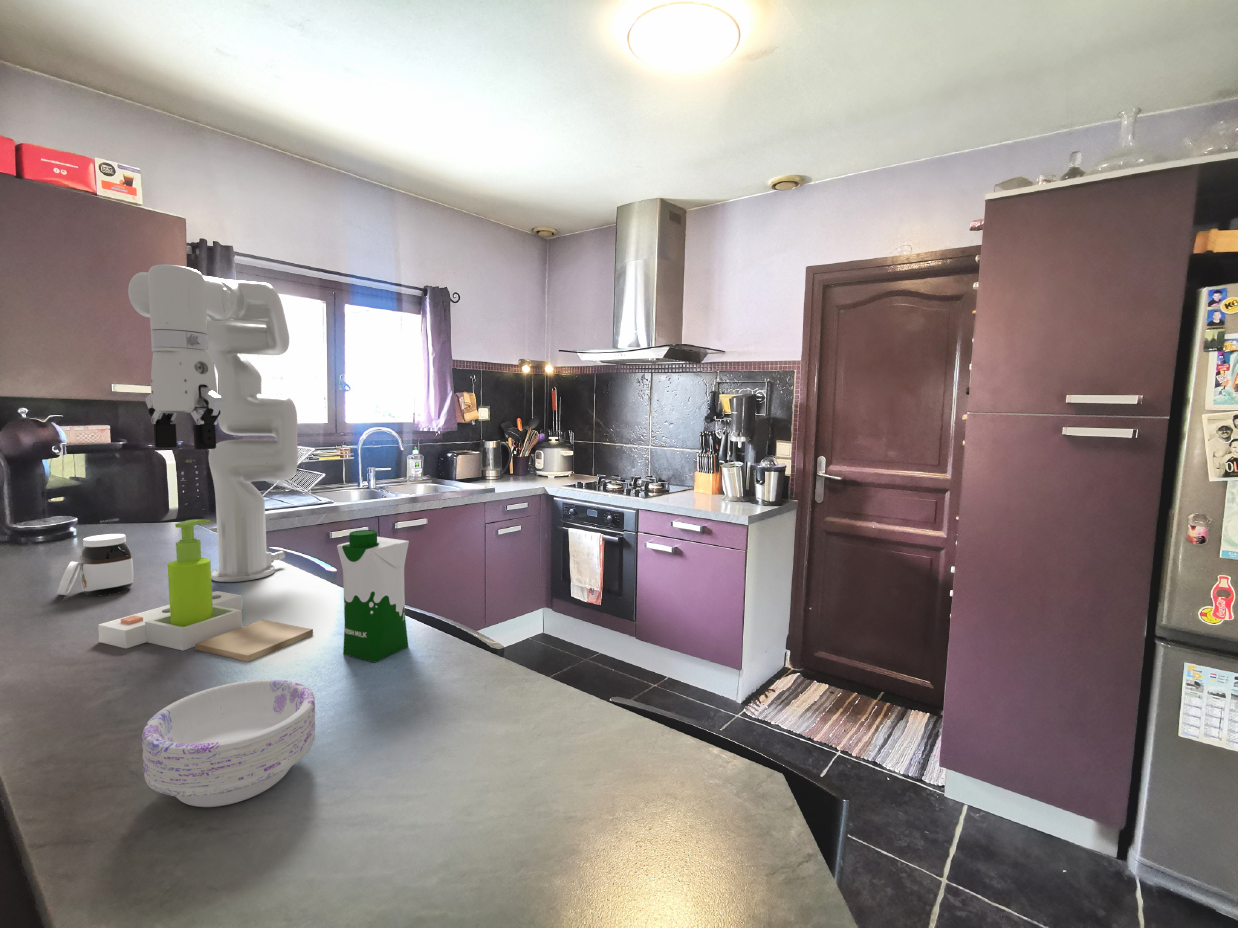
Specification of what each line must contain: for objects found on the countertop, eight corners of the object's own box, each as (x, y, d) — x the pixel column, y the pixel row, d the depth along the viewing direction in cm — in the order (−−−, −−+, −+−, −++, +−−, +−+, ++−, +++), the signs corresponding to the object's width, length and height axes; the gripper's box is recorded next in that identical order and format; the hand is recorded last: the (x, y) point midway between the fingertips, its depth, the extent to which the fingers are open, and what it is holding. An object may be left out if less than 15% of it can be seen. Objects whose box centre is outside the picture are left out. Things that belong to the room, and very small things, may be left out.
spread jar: (139, 590, 126) (136, 536, 125) (70, 604, 117) (65, 546, 116) (117, 581, 132) (114, 530, 131) (49, 594, 123) (45, 539, 122)
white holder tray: (217, 605, 117) (217, 587, 117) (277, 616, 111) (276, 598, 111) (99, 641, 98) (97, 620, 98) (163, 657, 93) (162, 635, 92)
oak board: (263, 624, 107) (263, 619, 107) (313, 634, 103) (312, 629, 103) (195, 649, 96) (195, 643, 96) (248, 661, 92) (247, 655, 92)
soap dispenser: (226, 629, 105) (221, 517, 103) (195, 644, 98) (189, 525, 96) (196, 627, 106) (190, 516, 104) (162, 642, 99) (155, 524, 97)
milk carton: (334, 655, 94) (330, 532, 93) (378, 636, 103) (376, 522, 101) (374, 666, 91) (371, 538, 89) (417, 645, 99) (415, 527, 97)
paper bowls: (347, 749, 69) (345, 683, 68) (235, 841, 54) (231, 759, 53) (238, 731, 72) (235, 669, 71) (104, 814, 57) (99, 736, 57)
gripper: (239, 345, 98) (243, 448, 99) (169, 348, 104) (174, 445, 105) (192, 339, 91) (197, 451, 92) (120, 343, 97) (126, 447, 98)
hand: (185, 448), depth 99 cm, fingers open, 9 cm apart
